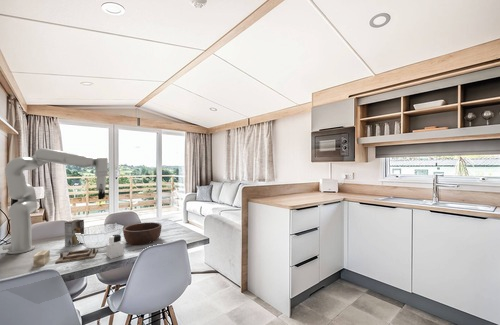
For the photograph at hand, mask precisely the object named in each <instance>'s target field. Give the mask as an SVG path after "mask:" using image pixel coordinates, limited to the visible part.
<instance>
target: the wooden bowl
mask: <svg viewBox="0 0 500 325" xmlns="http://www.w3.org/2000/svg"><path fill="white" fill-rule="evenodd" d="M122 232H123V238H124V240H125V243H127V244H129V245H131V246H143V245H149V244H152V243H154V242H156V241H158V239H159V238H160V236H161V233H162V224H161V223H159V222H153V221H152V222H151V221H149V222H139V223H138V222H137V223H134V224H130V225H127V226H124V228H122Z"/></svg>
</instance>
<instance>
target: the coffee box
mask: <svg viewBox="0 0 500 325" xmlns="http://www.w3.org/2000/svg"><path fill="white" fill-rule="evenodd" d="M75 233H81V234H84V235H85V219H73V220H69V221H65V222H64V247H75V246H77V245H80V243H79V241H78V240H77V237H76V235H75Z"/></svg>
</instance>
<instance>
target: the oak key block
mask: <svg viewBox="0 0 500 325" xmlns="http://www.w3.org/2000/svg"><path fill="white" fill-rule="evenodd" d="M50 257H51V256H50V249H45V250H38V252H37V253H35V254H34V255H33V259H32V261H33V262H32V263H33V264H32V265H33V268H36V267H43V266H45V265H47V263H49V261H50V260H51V259H50Z"/></svg>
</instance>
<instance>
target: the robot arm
mask: <svg viewBox="0 0 500 325" xmlns="http://www.w3.org/2000/svg"><path fill="white" fill-rule="evenodd" d="M48 163H53V164H60V165H65V166H66V165H68V166H74V167H79V168H89V169H91V168H95V169H94V170H95V172H94V176H95V177H96V187H95V188H96V189H95V190H96V191H98V193H97V198H98V200H104V199H105V197H106V192H105V190H106V186H107V182H106V181H107V180H106V178H107V177H108V176H109V175H108V174H109V173H108V170H109V169H108V168H109V167H108V166H109V165H108V163H109V161H108V157H106V156H104V157H103V156H97V157H92V156H86V155H81V154H74V153H70V152H67V151H62V150H55V149H50V148H45V147H42V148H38V149H37V150H35V152H34V154H33V155H31V156H19V157H15V158H13V159H11V160H10V161H8V162H7V164H6V165H5V168H4V174H5V178H6V185H7V191H8V196H9V197H10V198H11V199H12V200H17V201H16V202H14V203H13V204H12V205H11V206H10V207H9V208H8V214H9V219H10V220H9V221H10V244H9V245H3V246H2V248H1V249H2V250H3V251H5V250H7V252H6V253H7V254H8V255H17V254H23V253H28V252H31V251H33V250H35V248H36V246H35V245H32V230H33V228H32V218H31V216H32V215H31V214H32V213H34V212H35V211H36V210H37V208H38V200H37V194H36V189H35V188H34V186H33V185H31V184H29V183H27V181H26V180H27V179H26V176H25V174H24V171H32V170H35V169H38V168H40V167H42V166H44V165H46V164H48Z"/></svg>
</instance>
